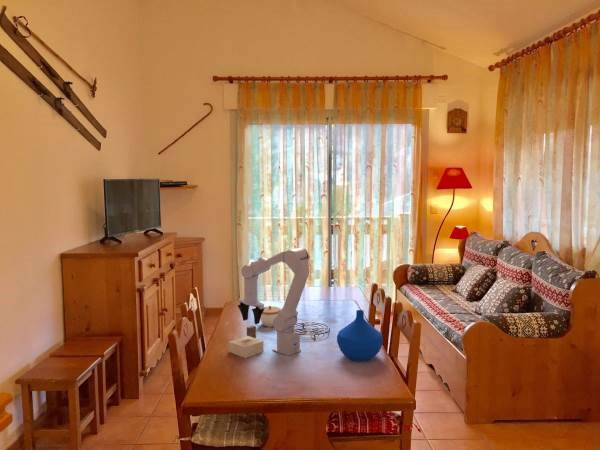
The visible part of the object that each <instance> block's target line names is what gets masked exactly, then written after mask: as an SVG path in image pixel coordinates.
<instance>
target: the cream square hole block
mask: <svg viewBox="0 0 600 450" xmlns="http://www.w3.org/2000/svg"><path fill="white" fill-rule="evenodd" d="M228 344H229V349H228V350H229V353H231V354H234V355H236V356H239V357H242V358H243V359H247V358H249V357H252V356H255V355H257V354H261V353H263V352H264V340H261V339H258V338H257V337H256V338H253V337H250V336H247V335H245V336H243V337H239V338H236V339H233V340H230V341H229V342H228Z"/></svg>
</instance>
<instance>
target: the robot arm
mask: <svg viewBox="0 0 600 450" xmlns="http://www.w3.org/2000/svg"><path fill="white" fill-rule="evenodd" d="M310 258H311V256H310V254H309V252H308V250H307V249H306V248H304V247H303V246H302V247H301V246H300V247H298V248H293V249H287V250H283V251H281V252H279V253H277V254H274V255H273V256H271V257H269V258H266V257H262V256H261V257H258V260H255V261H251V262H250V264H245V265H244V266H242V268H241V270H240V271H241V276H242V277H243V288H244V289H243V290H244V291H243V294H244V295H243V296H244V297H240V298H238V305H237V308H238V309H239V310H240V314H241V317H242V321H248V319H249V310H250V307H253V308H251V311H252V314H253V321H254V324H255V325H259V324H260V322H261V320H260V318H261V315H262V313H263V311H264V307H265V303H262V302H260V300H259V299H258V279H259V275H261V274H263V273H266V272H269V270H270V269H271V267H272V266H274V265H277V264H279V263H283V264H284V263H285V264H286V265H287V266H288V268H289V269H290V270H291V271H292V272H293V274H294V275H293V278H292V281H291V285H290V286H289V289H288V293H287V295H286V298H285V300H284V304H283V307H282V308H280V309H281V310H280V312H279V313H278V315H277V317H276V318H275V319H274V320H273V325H274V326H273V328H274V329H275V331H276V347H275V348H274V347H273V348H272V351H273V352H276V353H279V354H282V355H285V356H289V357H290V356H292V355H294V354H297V353H298V352H301V351H302V350H301V347H300V346H301V344H300V343H301V341H300V339H301V336H300V334H299V333H298V332H296V331H295V326H296V325H297V323H298V314H299V312H298V311H297V309H298V306H299V303H300V300H301V297H302V294H303V291H304V289H305V286H306V283H307V280H308V278H309V275H310V267H309V264H310V263H309V261H310Z"/></svg>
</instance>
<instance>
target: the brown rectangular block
mask: <svg viewBox="0 0 600 450" xmlns="http://www.w3.org/2000/svg"><path fill="white" fill-rule="evenodd" d="M246 336H250V337H253V338H256V339H257V329H256V325H250V326H247V327H246Z"/></svg>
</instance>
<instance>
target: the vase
mask: <svg viewBox="0 0 600 450" xmlns="http://www.w3.org/2000/svg"><path fill="white" fill-rule="evenodd" d="M364 312H365V311H364V310H363V309H356V313H355V314H356V315H355V319H354V320H352V322H350V323H349V324H348V325H346V326H344V327H343V328H341V329H340V330H338V333H337V335H336V342H337V345H338V347H339V351H341V353H342V354H343V356H345V357H346V358H347V360H348V359H349V360H350V361H354V362H361V363H363V362H368V361H371V360H372V359H374V358H375V357H377V355H378V354H379V352H380V351H381V349H382V346H383V339H384V338H383V335H382V333H381V332H380V331H379V330H378V329H376V328H375V327H374V326H372V325H371V324H370V323H369V322H368V321H367V320H366V319H365V316H364V315H365V314H364Z"/></svg>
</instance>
